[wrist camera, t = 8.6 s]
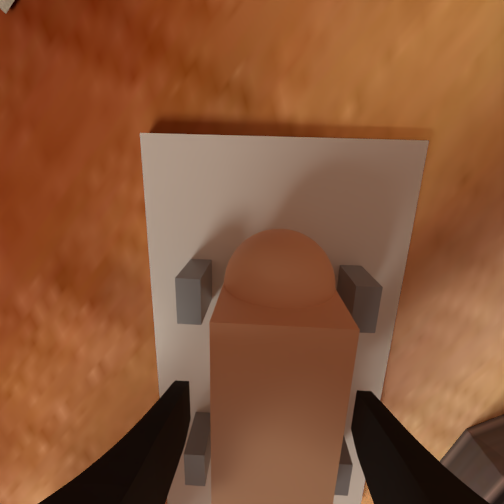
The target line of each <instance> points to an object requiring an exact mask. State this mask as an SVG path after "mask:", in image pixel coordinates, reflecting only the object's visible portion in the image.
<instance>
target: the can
mask: <svg viewBox="0 0 504 504" xmlns="http://www.w3.org/2000/svg"><path fill="white" fill-rule="evenodd" d="M440 463H441V464H442V465H444V466H445V467H446V468H447V469H448V470H449V471H450V472H452V473H453V474H454V475H455V476H456V477H457V478H459V479H460V480H461V481H462V482H463V483H464V484H466V485H467V486H468V487H469V488H471V489H472V490H473V491H474V492H476V493H477V494H478V495H479V496H481V497H482V498H483V499H485V500H486V501H487V502H489V503H490V504H504V414H503V415H501V416H498V417H496V418H493V419H491V420H488V421H485V422H483V423H480V424H478V425H475V426H473V427H470V428H467V429H466V430H465V431H464V432H463V433H462V435H461V436H460V437H459V438H458V440H457V441H456V442H455V443H454V444H453V446H452V447H451V448H450V449H449V451H448V452H447V453H446V454H445V456H444V457H443V458H442V459H441V460H440Z"/></svg>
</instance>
